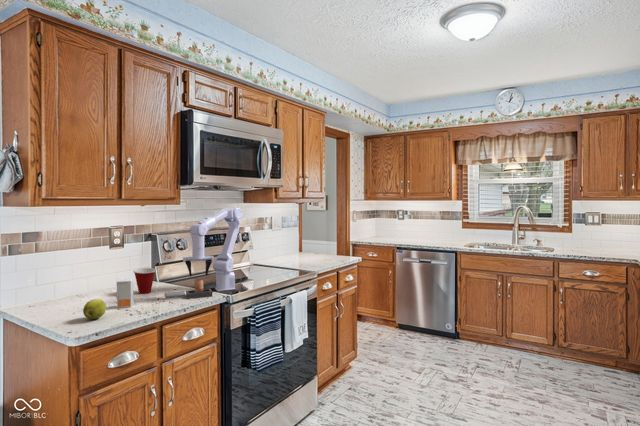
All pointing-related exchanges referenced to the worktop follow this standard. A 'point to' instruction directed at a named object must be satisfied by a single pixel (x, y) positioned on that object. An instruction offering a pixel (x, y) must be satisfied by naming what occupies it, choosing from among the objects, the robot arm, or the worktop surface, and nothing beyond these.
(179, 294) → the mat
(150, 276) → the plastic cup
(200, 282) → the peg
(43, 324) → the worktop surface
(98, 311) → the apple
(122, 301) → the skincare box
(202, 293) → the dark flat piece
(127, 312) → the worktop surface
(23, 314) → the worktop surface
